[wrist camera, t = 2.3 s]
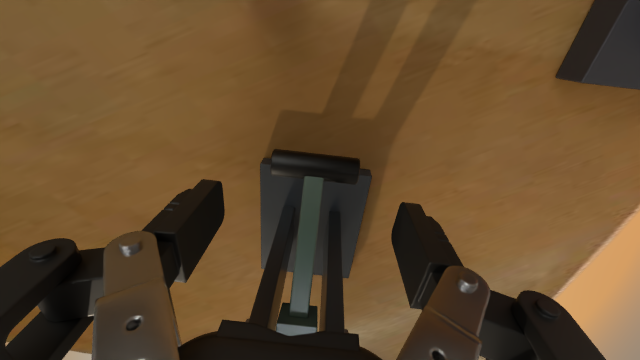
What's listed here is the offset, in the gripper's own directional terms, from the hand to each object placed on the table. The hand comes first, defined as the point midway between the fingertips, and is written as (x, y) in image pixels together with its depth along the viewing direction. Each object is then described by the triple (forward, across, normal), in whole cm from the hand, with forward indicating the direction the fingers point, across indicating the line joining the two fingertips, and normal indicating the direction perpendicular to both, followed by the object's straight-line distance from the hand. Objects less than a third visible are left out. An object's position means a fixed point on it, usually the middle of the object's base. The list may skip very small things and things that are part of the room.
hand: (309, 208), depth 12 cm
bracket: (+10, 0, +8) cm, 13 cm away
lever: (+2, 0, +5) cm, 6 cm away
